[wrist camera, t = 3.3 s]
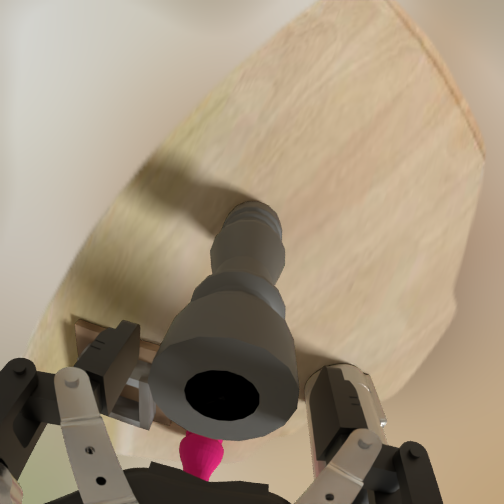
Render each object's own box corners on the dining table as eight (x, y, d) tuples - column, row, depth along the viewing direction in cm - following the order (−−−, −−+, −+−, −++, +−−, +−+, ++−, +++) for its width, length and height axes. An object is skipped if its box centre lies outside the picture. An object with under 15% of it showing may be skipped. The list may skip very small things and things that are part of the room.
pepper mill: (183, 415, 44) (154, 516, 25) (226, 421, 44) (210, 527, 25) (186, 439, 47) (162, 531, 28) (226, 444, 46) (212, 540, 28)
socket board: (179, 351, 40) (168, 376, 35) (171, 419, 45) (164, 443, 40) (79, 319, 39) (61, 338, 34) (88, 390, 45) (75, 410, 39)
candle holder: (285, 249, 35) (313, 435, 11) (232, 259, 35) (175, 445, 12) (275, 195, 33) (294, 314, 9) (219, 207, 33) (115, 337, 10)
